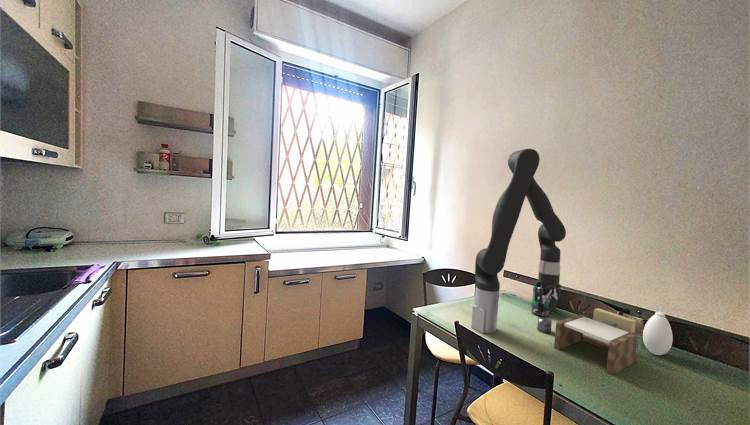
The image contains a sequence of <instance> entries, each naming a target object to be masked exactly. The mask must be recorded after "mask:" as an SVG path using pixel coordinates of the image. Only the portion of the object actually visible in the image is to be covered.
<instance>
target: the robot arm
mask: <svg viewBox="0 0 750 425" xmlns="http://www.w3.org/2000/svg"><path fill="white" fill-rule="evenodd" d="M540 159H541V158H540V155H539V152H538V151H536V149H533V148H524V149H521V150H516V151H513V152H512V153H511V154H510V155H509V156H508V158H507V166H508V168H509V170H510V171H511V173H512V177H511V179H510V182H509V184H508V186H507V187H506V189H505V190H504V192H502V194H501V195H500V196H499V198H498V201H497V202H496V205H495V208H494V211H493V213H492V221H491V235H490V239H489V243H488V244H487V245H488V246H487V248H482V249H481V250H479V251H478V252H477V254H476V257H475V263H474V264H475V266H474V279H475V293H474V304H473V305H472V311H471V312H472V313H471V325H470V326H471V328H472V329H474V330H476V331H477V332H479V333H481V334H495V333H496V332H497V328H498V327H497V326H498V315H499V300H500V291H501V289H500V288H501V285H500V281H499V277H498V274H500V272H501V271H502V270H503V268H504V266H505V263H506V260H507V255H508V250H509V245H510V242H511V238H512V237H513V234H514V231H515V228H516V226H517V222H518V220H519V217H520V215H521V211H522V208H523V205H524V202H525V199H526V198H527V202H528V203H529V206H530V208H531V210H532V213H533V215H534V217H535V219H536V220H537V221H539V222H540V223H541V225H540V226H539V228H538V231H537V237H538V243H539V248H540V254H539V255H540V257H539V259H540V260H539V264H538V278H537V279H538V281H537V282H540V283H541V287H536V288H535V299H534V301H536V302H538V311H539V312H544V303H545V300H546V299H548V297H550V308H552V310H555V309H557V301H558V300H559V299H560V298H561V289H562V288H561V286H562V285H561V284H560V279H561V278H560V277H561V249H560V248H559V247H558V246H557V245H556V242H558V243H559V242H562V241H563V240H564V239H565V238H566V233H567V231H566V228H565V225H564V223H563V222H562V221H561V219H560V218H559V216H558V215H557V214H556V212H555V211H554V209H553V206H552V203H551V201H550V199H549V197H548V195H547V194H546V192H545V191H544V190H543V189H542V188H541V187H540V185H539V183H538V182H537V180H536V179H535V174H536V173H537V170H538V168H539V165H540ZM543 295H544V296H543ZM538 296H539V297H538ZM537 297H538V299H537ZM542 298H543V300H542Z"/></svg>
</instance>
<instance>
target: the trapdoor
mask: <svg viewBox="0 0 750 425" xmlns="http://www.w3.org/2000/svg"><path fill="white" fill-rule="evenodd" d="M592 317H593V319H592V318H589V317H587V316H585V317H582V318H579V319H576V320H573V321H569V322H566V323H564V326H566V327H568V328H571V329H573V330H576V331H578V332H581V333H583V335H585V336H588V337H590V338H593V339H595V340H598V341H600V342H603V343H605V344H608V345H609V343H610V342H612V341H614V340H616V339H619V338H621V337H623V336H625V335H627V334H630V333H632V332H633V333H636V332H635V331H636V323H637V320H635V319H633V318H629V317H626V316H624V315H621V314H617V313H614V312H611V311H607V310H604V309H602V308H594V309H593V315H592Z"/></svg>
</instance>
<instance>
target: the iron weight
mask: <svg viewBox="0 0 750 425" xmlns="http://www.w3.org/2000/svg"><path fill="white" fill-rule="evenodd" d="M552 324H553V321H552V319H551V318H549V317H544V316H538V317H537V325H536V327H537V328H536V329H537V332H540V333H542V334H547V335H549V334H552Z"/></svg>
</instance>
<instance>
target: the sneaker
mask: <svg viewBox="0 0 750 425" xmlns="http://www.w3.org/2000/svg"><path fill="white" fill-rule="evenodd" d="M536 287H541V283H540V282H539V281H537V282H536V284H534V285H533V287H532V298H531V299H532V300H531V307H530V308H531V310H530V311H531V314H533V315H538V316H540V317H546V318H548V316H549V314H550V312H552V310H553V308H550V299H551V298H550V296H549V297H548V299H546V300H545V303H544V312H539V311H538V302H536V301H534V299H535V288H536ZM543 296H544V295H543ZM538 297H539V296H538ZM538 297H537V299H538ZM542 300H543V298H542Z"/></svg>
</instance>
